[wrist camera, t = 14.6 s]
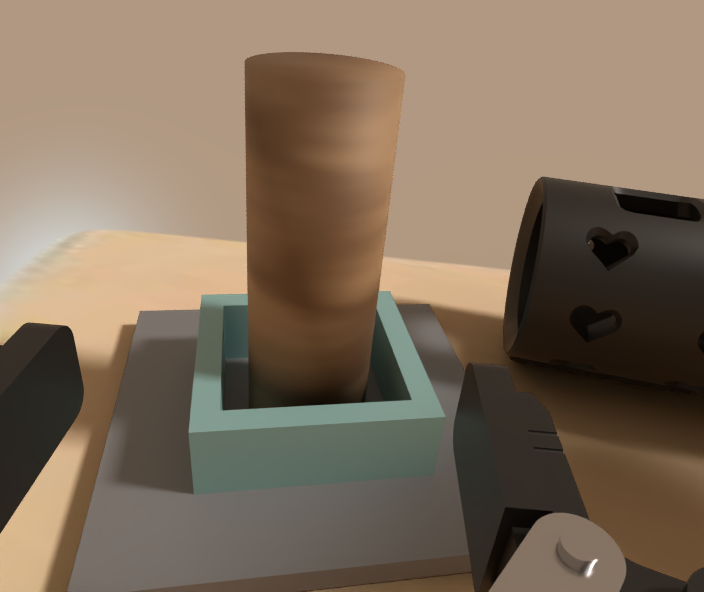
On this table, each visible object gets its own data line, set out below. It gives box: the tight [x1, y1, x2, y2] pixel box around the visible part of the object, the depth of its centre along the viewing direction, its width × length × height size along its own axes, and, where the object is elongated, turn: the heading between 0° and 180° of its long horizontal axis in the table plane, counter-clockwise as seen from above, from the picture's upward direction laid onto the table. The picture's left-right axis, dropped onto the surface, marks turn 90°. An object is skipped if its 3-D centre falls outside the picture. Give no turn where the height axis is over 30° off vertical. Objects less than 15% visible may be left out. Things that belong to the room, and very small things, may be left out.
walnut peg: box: [245, 52, 405, 409], centre depth 22 cm, size 5×5×14 cm
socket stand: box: [67, 291, 472, 592], centre depth 25 cm, size 16×16×4 cm
